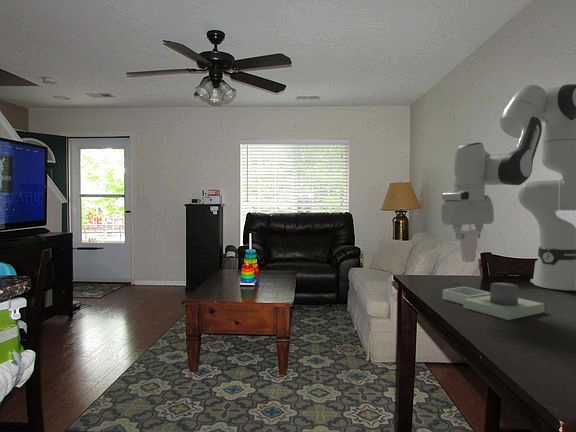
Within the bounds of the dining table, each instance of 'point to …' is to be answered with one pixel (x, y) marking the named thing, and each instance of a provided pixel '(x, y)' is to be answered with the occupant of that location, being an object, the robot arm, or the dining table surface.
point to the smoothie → (469, 244)
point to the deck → (502, 309)
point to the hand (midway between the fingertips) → (468, 238)
